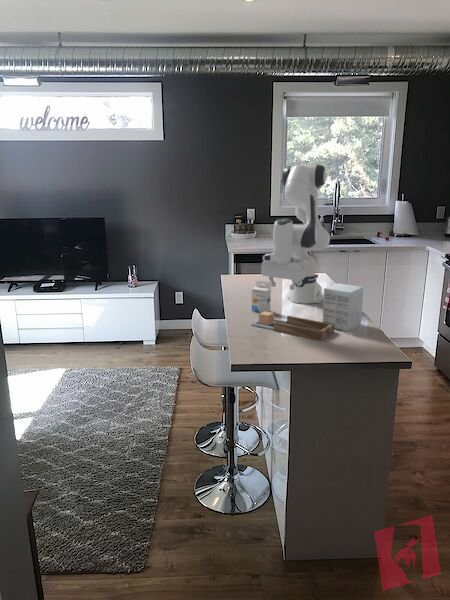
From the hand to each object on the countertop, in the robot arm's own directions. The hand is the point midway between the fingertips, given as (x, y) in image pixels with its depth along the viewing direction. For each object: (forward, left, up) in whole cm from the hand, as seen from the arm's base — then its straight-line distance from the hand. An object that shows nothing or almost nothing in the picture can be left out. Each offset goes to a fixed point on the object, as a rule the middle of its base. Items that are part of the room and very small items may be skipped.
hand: (282, 287), depth 212 cm
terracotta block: (+1, -8, -18) cm, 20 cm away
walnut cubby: (0, +11, -18) cm, 21 cm away
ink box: (-16, -21, -18) cm, 32 cm away
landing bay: (0, -6, -18) cm, 19 cm away
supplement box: (-18, +21, -18) cm, 33 cm away
